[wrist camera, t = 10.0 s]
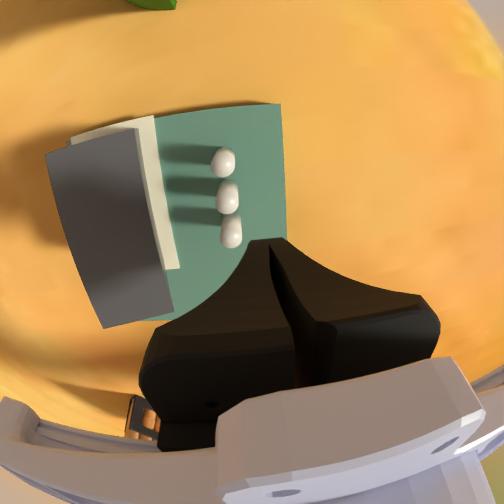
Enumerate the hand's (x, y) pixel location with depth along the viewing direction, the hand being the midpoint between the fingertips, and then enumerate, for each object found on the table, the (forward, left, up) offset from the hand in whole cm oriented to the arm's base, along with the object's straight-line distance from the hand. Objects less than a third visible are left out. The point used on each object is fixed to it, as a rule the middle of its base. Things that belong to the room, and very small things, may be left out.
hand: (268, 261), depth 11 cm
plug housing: (+1, +9, -7) cm, 11 cm away
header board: (-1, +5, -9) cm, 10 cm away
